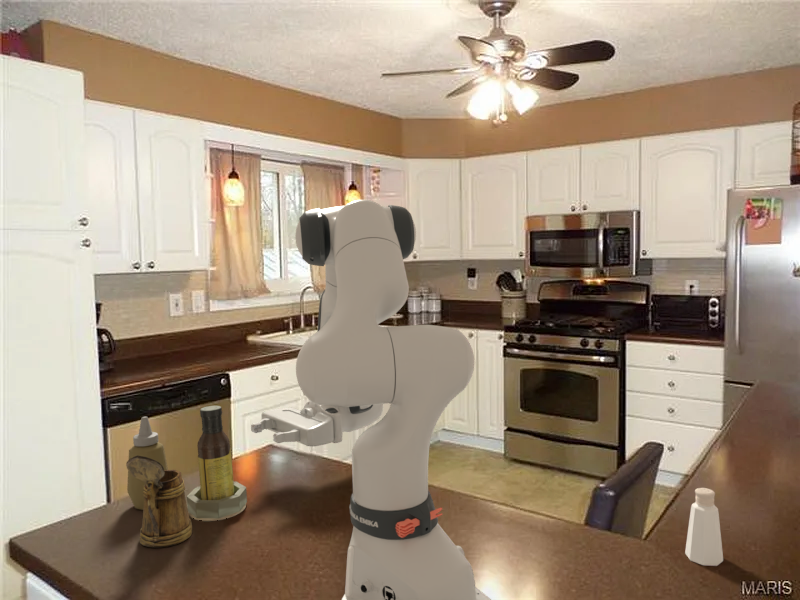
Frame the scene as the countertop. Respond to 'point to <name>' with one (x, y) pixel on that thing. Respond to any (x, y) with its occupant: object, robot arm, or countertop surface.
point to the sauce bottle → (214, 457)
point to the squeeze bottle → (145, 447)
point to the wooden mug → (161, 504)
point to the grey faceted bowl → (216, 505)
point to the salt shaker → (704, 530)
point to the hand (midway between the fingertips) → (263, 433)
